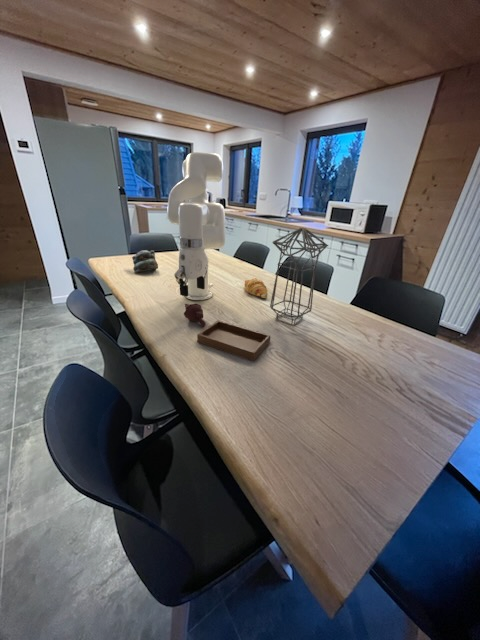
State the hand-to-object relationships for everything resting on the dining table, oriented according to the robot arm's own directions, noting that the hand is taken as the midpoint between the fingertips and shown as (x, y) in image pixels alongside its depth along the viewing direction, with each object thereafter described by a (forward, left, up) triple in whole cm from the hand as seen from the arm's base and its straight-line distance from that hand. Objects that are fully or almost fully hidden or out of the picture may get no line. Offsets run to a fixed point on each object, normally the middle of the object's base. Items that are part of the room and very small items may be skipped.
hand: (192, 291), depth 95 cm
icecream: (0, 0, -12) cm, 12 cm away
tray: (+6, +21, -12) cm, 24 cm away
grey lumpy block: (-37, -64, -12) cm, 75 cm away
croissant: (-42, +6, -12) cm, 44 cm away
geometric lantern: (-22, +31, -12) cm, 40 cm away
